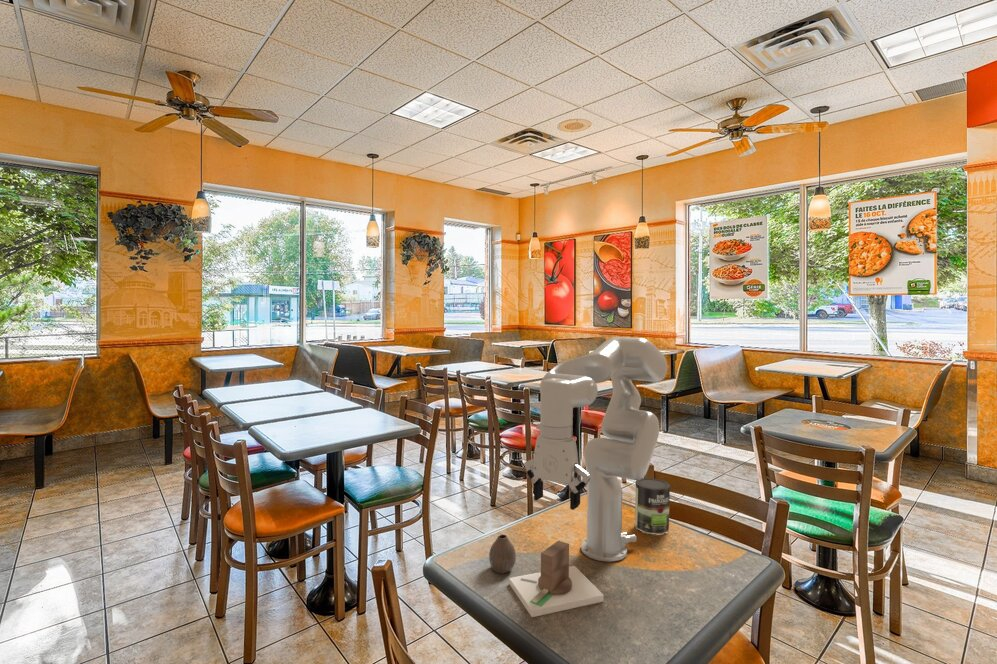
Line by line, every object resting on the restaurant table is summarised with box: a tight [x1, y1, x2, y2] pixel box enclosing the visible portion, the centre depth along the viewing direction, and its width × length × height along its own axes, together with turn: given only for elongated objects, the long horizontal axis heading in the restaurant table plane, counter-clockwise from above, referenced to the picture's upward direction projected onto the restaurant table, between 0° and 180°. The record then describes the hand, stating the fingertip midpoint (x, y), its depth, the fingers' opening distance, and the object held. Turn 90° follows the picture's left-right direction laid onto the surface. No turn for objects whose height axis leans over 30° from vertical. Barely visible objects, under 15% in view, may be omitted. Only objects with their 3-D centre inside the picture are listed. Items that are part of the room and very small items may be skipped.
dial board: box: [508, 565, 605, 618], centre depth 117 cm, size 18×14×2 cm
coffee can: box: [634, 477, 671, 535], centre depth 153 cm, size 10×10×14 cm
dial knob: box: [533, 540, 572, 602], centre depth 115 cm, size 13×8×9 cm, turn 143°
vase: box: [488, 534, 517, 574], centre depth 128 cm, size 7×7×9 cm
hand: (556, 503), depth 117 cm, fingers open, 9 cm apart
